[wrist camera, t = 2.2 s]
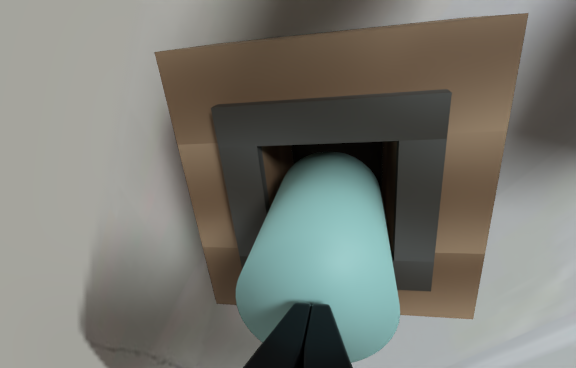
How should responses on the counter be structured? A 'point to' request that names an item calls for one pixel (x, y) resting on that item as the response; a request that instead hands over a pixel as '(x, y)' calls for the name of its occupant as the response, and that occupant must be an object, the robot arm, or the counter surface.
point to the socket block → (354, 139)
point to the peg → (324, 254)
